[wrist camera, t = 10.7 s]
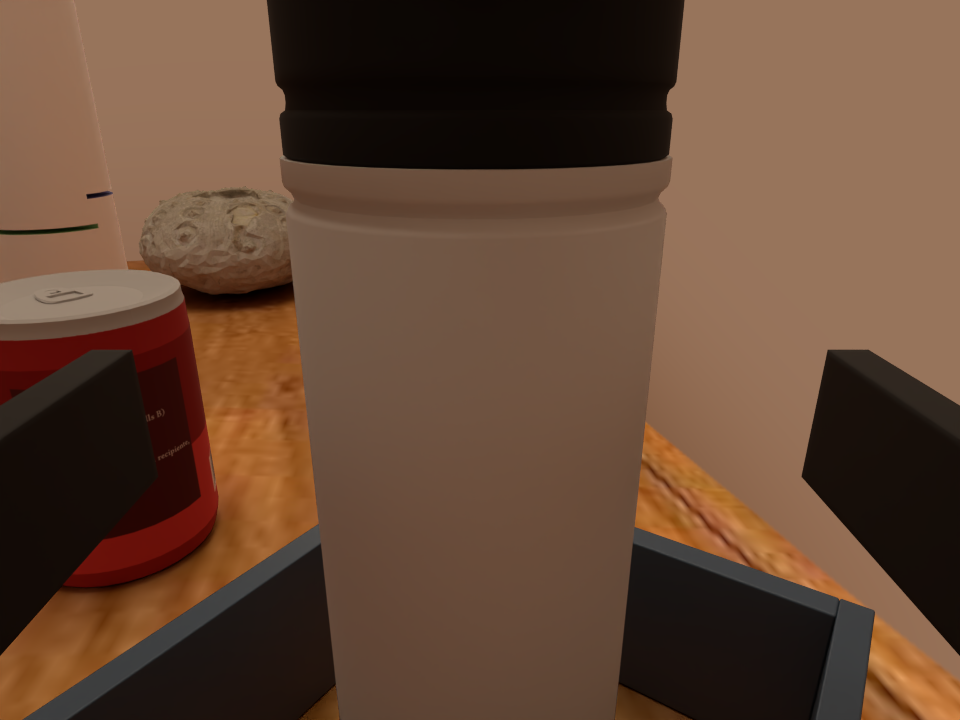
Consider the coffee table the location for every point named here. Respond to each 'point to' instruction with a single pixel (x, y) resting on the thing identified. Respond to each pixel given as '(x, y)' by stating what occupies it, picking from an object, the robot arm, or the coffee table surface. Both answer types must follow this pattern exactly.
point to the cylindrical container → (51, 149)
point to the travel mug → (476, 335)
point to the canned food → (164, 388)
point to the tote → (644, 662)
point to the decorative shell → (220, 240)
